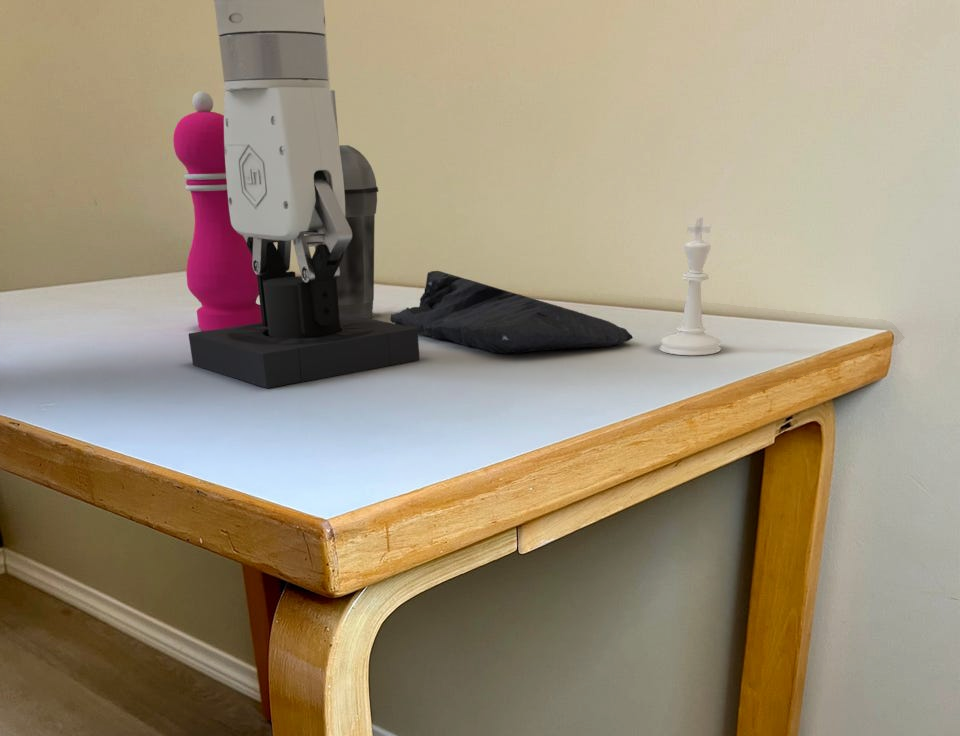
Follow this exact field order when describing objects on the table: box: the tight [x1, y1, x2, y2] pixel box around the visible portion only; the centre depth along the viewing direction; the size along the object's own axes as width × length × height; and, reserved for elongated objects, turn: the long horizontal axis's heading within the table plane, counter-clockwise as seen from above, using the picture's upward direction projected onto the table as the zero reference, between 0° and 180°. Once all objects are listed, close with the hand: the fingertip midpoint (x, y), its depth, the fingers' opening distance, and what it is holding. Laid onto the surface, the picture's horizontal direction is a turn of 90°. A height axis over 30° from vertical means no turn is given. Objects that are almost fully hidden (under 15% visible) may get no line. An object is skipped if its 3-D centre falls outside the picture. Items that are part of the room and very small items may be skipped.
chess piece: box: [659, 216, 722, 356], centre depth 80 cm, size 5×5×10 cm
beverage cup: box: [314, 89, 379, 319], centre depth 96 cm, size 7×7×20 cm
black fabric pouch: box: [389, 270, 634, 354], centre depth 89 cm, size 15×22×5 cm
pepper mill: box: [172, 90, 262, 331], centre depth 93 cm, size 7×7×20 cm
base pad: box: [188, 313, 420, 389], centre depth 81 cm, size 14×12×2 cm
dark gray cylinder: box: [263, 275, 331, 338], centre depth 79 cm, size 5×5×4 cm
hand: (300, 327), depth 80 cm, fingers closed on dark gray cylinder, 5 cm apart
